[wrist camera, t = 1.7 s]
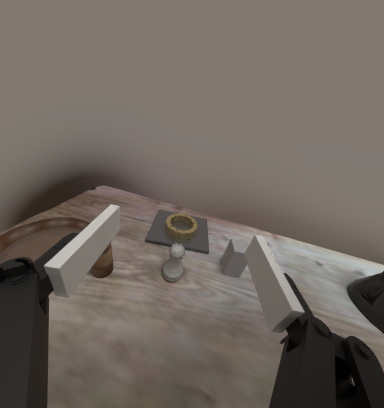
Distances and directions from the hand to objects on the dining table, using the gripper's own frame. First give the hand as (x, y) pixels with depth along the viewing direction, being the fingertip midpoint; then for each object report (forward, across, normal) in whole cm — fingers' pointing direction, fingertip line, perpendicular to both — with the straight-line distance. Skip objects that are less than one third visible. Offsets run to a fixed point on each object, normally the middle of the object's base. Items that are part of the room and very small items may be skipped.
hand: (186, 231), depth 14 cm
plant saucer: (+10, -26, -21) cm, 35 cm away
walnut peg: (+8, -14, -20) cm, 26 cm away
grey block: (+14, +14, -20) cm, 28 cm away
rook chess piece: (+10, 0, -21) cm, 23 cm away
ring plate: (+25, 0, -20) cm, 32 cm away
